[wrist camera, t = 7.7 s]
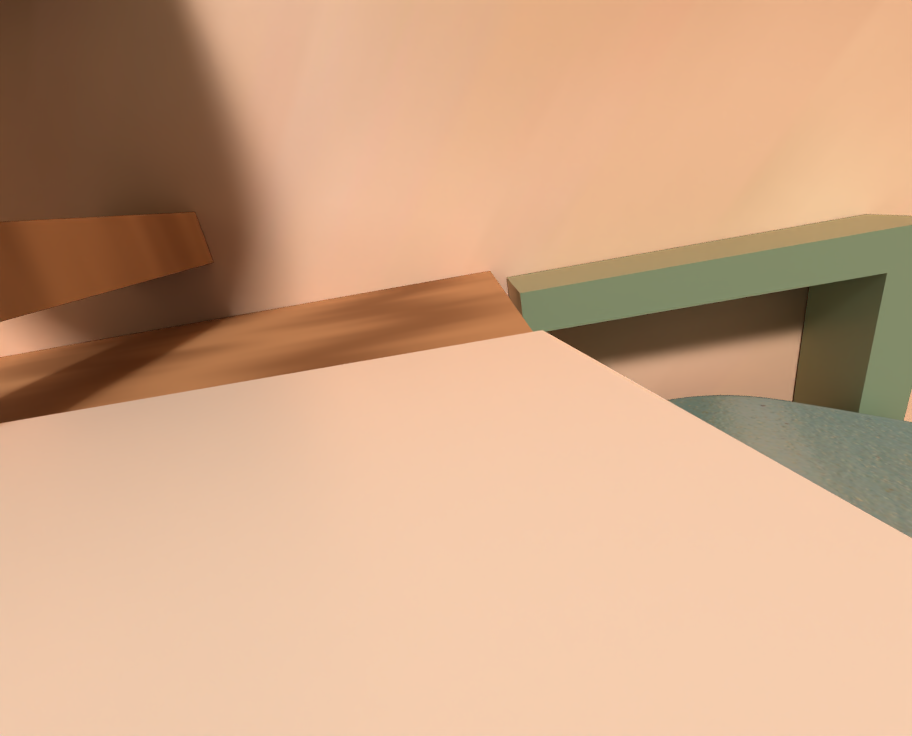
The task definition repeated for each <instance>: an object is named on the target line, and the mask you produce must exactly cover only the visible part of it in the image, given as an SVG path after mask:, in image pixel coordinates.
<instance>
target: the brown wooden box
mask: <svg viewBox="0 0 912 736" xmlns="http://www.w3.org/2000/svg"><path fill="white" fill-rule="evenodd" d="M529 332H533V331H532V330H531V328H530V327H529V325H528V324H527V323H526V321H525V320H524V318H523V317H522V315H521V314H520V313H519V311H518V310H517V308H516V307H515V306H514V304H513V303H512V301H511V300H510V298H509V297H508V296H507V294H506V293H505V291H504V290H503V289H502V287H501V286H500V284H499V283H498V281H497V280H496V279H495V277H494V276H493V274H492V273H491V272H490V271H487V272H481V273H475V274H470V275H464V276H458V277H453V278H447V279H441V280H436V281H430V282H424V283H419V284H413V285H407V286H402V287H396V288H390V289H385V290H379V291H373V292H368V293H362V294H356V295H351V296H345V297H339V298H334V299H328V300H322V301H317V302H311V303H305V304H300V305H294V306H288V307H283V308H277V309H271V310H266V311H260V312H254V313H249V314H243V315H237V316H232V317H226V318H220V319H215V320H209V321H203V322H198V323H192V324H186V325H181V326H175V327H169V328H164V329H158V330H152V331H147V332H141V333H135V334H130V335H124V336H118V337H113V338H107V339H101V340H96V341H90V342H84V343H79V344H73V345H67V346H62V347H56V348H50V349H45V350H39V351H33V352H28V353H22V354H16V355H11V356H5V357H0V423H5V422H11V421H17V420H23V419H29V418H34V417H40V416H46V415H52V414H58V413H63V412H69V411H75V410H81V409H87V408H92V407H98V406H104V405H110V404H116V403H122V402H127V401H133V400H139V399H145V398H151V397H156V396H162V395H168V394H174V393H180V392H186V391H191V390H197V389H203V388H209V387H215V386H220V385H226V384H232V383H238V382H244V381H249V380H255V379H261V378H267V377H273V376H279V375H284V374H290V373H296V372H302V371H308V370H313V369H319V368H325V367H331V366H337V365H343V364H348V363H354V362H360V361H366V360H372V359H377V358H383V357H389V356H395V355H401V354H406V353H412V352H418V351H424V350H430V349H436V348H441V347H447V346H453V345H459V344H465V343H470V342H476V341H482V340H488V339H494V338H500V337H505V336H511V335H517V334H523V333H529Z"/></svg>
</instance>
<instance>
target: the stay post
mask: <svg viewBox="0 0 912 736" xmlns="http://www.w3.org/2000/svg"><path fill="white" fill-rule="evenodd" d="M210 263H213V260H212V257H211V254H210V252H209V249H208V246H207V244H206V241H205V238H204V236H203V233H202V230H201V228H200V225H199V222H198V219H197V217H196V214H195V212H185V213H166V214H146V215H127V216H107V217H88V218H68V219H48V220H29V221H9V222H0V322H1V321H5V320H8V319H12V318H16V317H19V316H23V315H26V314H30V313H34V312H37V311H41V310H44V309H48V308H52V307H55V306H59V305H62V304H66V303H69V302H73V301H77V300H80V299H84V298H87V297H91V296H95V295H98V294H102V293H105V292H109V291H113V290H116V289H120V288H123V287H127V286H131V285H134V284H138V283H141V282H145V281H149V280H152V279H156V278H159V277H163V276H166V275H170V274H174V273H177V272H181V271H184V270H188V269H192V268H195V267H199V266H202V265H206V264H210Z"/></svg>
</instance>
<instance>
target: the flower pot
mask: <svg viewBox="0 0 912 736" xmlns="http://www.w3.org/2000/svg"><path fill="white" fill-rule="evenodd" d="M667 401H669V402H671V403H673V404H675V405H676V406H678V407H680V408H682V409H683V410H685V411H687V412H689V413H690V414H692V415H694V416H696V417H698V418H699V419H701V420H703V421H705V422H706V423H708V424H710V425H712V426H714V427H715V428H717V429H719V430H721V431H722V432H724V433H726V434H728V435H729V436H731V437H733V438H735V439H737V440H738V441H740V442H742V443H744V444H745V445H747V446H749V447H751V448H753V449H754V450H756V451H758V452H760V453H761V454H763V455H765V456H767V457H769V458H770V459H772V460H774V461H776V462H777V463H779V464H781V465H783V466H784V467H786V468H788V469H790V470H792V471H793V472H795V473H797V474H799V475H800V476H802V477H804V478H806V479H808V480H809V481H811V482H813V483H815V484H816V485H818V486H820V487H822V488H824V489H825V490H827V491H829V492H831V493H832V494H834V495H836V496H838V497H839V498H841V499H843V500H845V501H847V502H848V503H850V504H852V505H854V506H855V507H857V508H859V509H861V510H863V511H864V512H866V513H868V514H870V515H871V516H873V517H875V518H877V519H878V520H880V521H882V522H884V523H886V524H887V525H889V526H891V527H893V528H894V529H896V530H898V531H900V532H902V533H903V534H905V535H907V536H909V537H910V538H912V422H908V421H903V420H897V419H891V418H886V417H880V416H874V415H868V414H862V413H857V412H851V411H845V410H839V409H833V408H827V407H821V406H815V405H809V404H803V403H797V402H791V401H785V400H778V399H770V398H762V397H752V396H734V395H712V396H696V397H686V398H678V399H672V400H667Z"/></svg>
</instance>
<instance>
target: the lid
mask: <svg viewBox="0 0 912 736" xmlns="http://www.w3.org/2000/svg"><path fill="white" fill-rule="evenodd" d="M0 736H912V538H910V537H909V536H907V535H905V534H903V533H902V532H900V531H898V530H896V529H894V528H893V527H891V526H889V525H887V524H886V523H884V522H882V521H880V520H878V519H877V518H875V517H873V516H871V515H870V514H868V513H866V512H864V511H863V510H861V509H859V508H857V507H855V506H854V505H852V504H850V503H848V502H847V501H845V500H843V499H841V498H839V497H838V496H836V495H834V494H832V493H831V492H829V491H827V490H825V489H824V488H822V487H820V486H818V485H816V484H815V483H813V482H811V481H809V480H808V479H806V478H804V477H802V476H800V475H799V474H797V473H795V472H793V471H792V470H790V469H788V468H786V467H784V466H783V465H781V464H779V463H777V462H776V461H774V460H772V459H770V458H769V457H767V456H765V455H763V454H761V453H760V452H758V451H756V450H754V449H753V448H751V447H749V446H747V445H745V444H744V443H742V442H740V441H738V440H737V439H735V438H733V437H731V436H729V435H728V434H726V433H724V432H722V431H721V430H719V429H717V428H715V427H714V426H712V425H710V424H708V423H706V422H705V421H703V420H701V419H699V418H698V417H696V416H694V415H692V414H690V413H689V412H687V411H685V410H683V409H682V408H680V407H678V406H676V405H675V404H673V403H671V402H669V401H667V400H666V399H664V398H662V397H660V396H659V395H657V394H655V393H653V392H651V391H650V390H648V389H646V388H644V387H643V386H641V385H639V384H637V383H635V382H634V381H632V380H630V379H628V378H627V377H625V376H623V375H621V374H620V373H618V372H616V371H614V370H612V369H611V368H609V367H607V366H605V365H604V364H602V363H600V362H598V361H596V360H595V359H593V358H591V357H589V356H588V355H586V354H584V353H582V352H580V351H579V350H577V349H575V348H573V347H572V346H570V345H568V344H566V343H565V342H563V341H561V340H559V339H557V338H556V337H554V336H552V335H550V334H549V333H547V332H545V331H543V330H540V331H534V332H529V333H523V334H517V335H511V336H505V337H500V338H494V339H488V340H482V341H476V342H470V343H465V344H459V345H453V346H447V347H441V348H436V349H430V350H424V351H418V352H412V353H406V354H401V355H395V356H389V357H383V358H377V359H372V360H366V361H360V362H354V363H348V364H343V365H337V366H331V367H325V368H319V369H313V370H308V371H302V372H296V373H290V374H284V375H279V376H273V377H267V378H261V379H255V380H249V381H244V382H238V383H232V384H226V385H220V386H215V387H209V388H203V389H197V390H191V391H186V392H180V393H174V394H168V395H162V396H156V397H151V398H145V399H139V400H133V401H127V402H122V403H116V404H110V405H104V406H98V407H92V408H87V409H81V410H75V411H69V412H63V413H58V414H52V415H46V416H40V417H34V418H29V419H23V420H17V421H11V422H5V423H0Z"/></svg>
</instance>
